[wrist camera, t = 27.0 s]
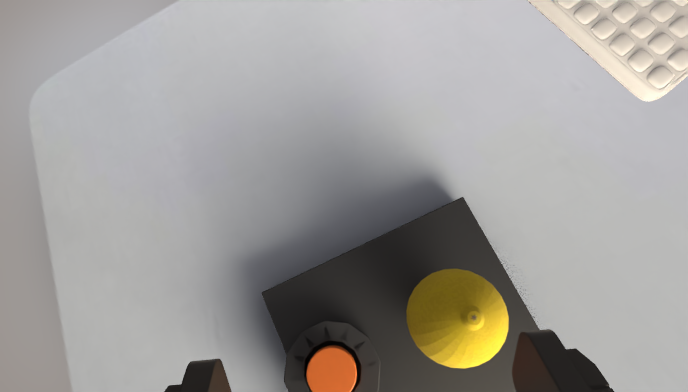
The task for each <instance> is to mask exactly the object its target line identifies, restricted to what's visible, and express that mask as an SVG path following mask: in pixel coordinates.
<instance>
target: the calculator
mask: <svg viewBox="0 0 688 392" xmlns="http://www.w3.org/2000/svg"><path fill="white" fill-rule="evenodd" d="M528 1H529V2H530V3H531V4H532V5H533V6H535V7H536V8H537V9H538V10H539V11H540V12H541V13H542V14H543V15H545V16H546V17H547V18H548V19H549V20H550V21H551V22H552V23H554V24H555V25H556V26H557V27H558V28H559V29H560V30H561V31H563V32H564V33H565V34H566V35H567V36H568V37H569V38H570V39H571V40H573V41H574V42H575V43H576V44H577V45H578V46H579V47H580V48H582V49H583V50H584V51H585V52H586V53H587V54H588V55H589V56H591V57H592V58H593V59H594V60H595V61H596V62H597V63H598V64H599V65H601V66H602V67H603V68H604V69H605V70H606V71H607V72H608V73H610V74H611V75H612V76H613V77H614V78H615V79H616V80H617V81H619V82H620V83H621V84H622V85H623V86H624V87H625V88H626V89H628V90H629V91H630V92H631V93H632V94H634V95H635V96H636V97H638V98H640V99H641V100H643V101H654V100H656V99H658V98H660V97H662V96H664V95H665V94H666V93H668V92H669V91H670V90H671V89H673V88H674V87H675V86H676V85H677V84H679V83H680V82H681V81H682V80H683V79H684V78H685V77H687V76H688V0H528Z"/></svg>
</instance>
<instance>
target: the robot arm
mask: <svg viewBox="0 0 688 392" xmlns="http://www.w3.org/2000/svg"><path fill="white" fill-rule="evenodd" d="M512 377H513V382H514V386H515V389H516V392H614V391H613V389H612V388H611V389H610V387H609V384H608V382H607V381H606V379H605V378H604V377H603V375H602V374H601V372H600V371H599V369H598V368H597V366H596V365H595V364H594V363H593V362H591V361H590V360H589V359H588V358H587V357H585V356H584V355H583V354H582V353H581V352H579V351H578V350H577V349H565V347H564V346H563V344H562V343H561V341H560V340H559V338H558V337H557V335H556V334H555V333H554V332H553V331H552V330H550V329H547V330H536V331H525V332H521V333H520V334H519V338H518V342H517V347H516V352H515V357H514V361H513V366H512ZM164 392H231V389H230V386H229V383H228V380H227V376H226V373H225V370H224V367H223V364H222V361H221V360H220V359H212V360H201V361H192V362H190V363H189V364H188V366H187V369H186V372H185V375H184V378H183V381H182V384H181V385H170V386H168V387H167V389H166V390H165V391H164Z"/></svg>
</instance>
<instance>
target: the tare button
mask: <svg viewBox="0 0 688 392" xmlns="http://www.w3.org/2000/svg"><path fill="white" fill-rule="evenodd" d="M306 376H307V382H308V385H309V387H310V389H311V391H312V392H351V391H352V389H353V387H354V385H355V383H356V378H357V370H356V364H355V361H354V358H353V357H352V355H351V354H350V353H349V352H348V351H347V350H346V349H344V348H343V347H340V346H336V345H329V346H325V347H323V348H321V349H319V350H318V351H317V352H316V353H315V354H314V355H313V357H312V358H311V360H310V361H309V364H308V367H307V373H306Z"/></svg>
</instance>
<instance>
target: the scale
mask: <svg viewBox="0 0 688 392" xmlns="http://www.w3.org/2000/svg"><path fill="white" fill-rule="evenodd" d="M444 269H461V270H467V271H471V272H473V273H475V274H477V275H479V276H482V277H483V278H484V279H486V280H487V281H488V282H490V283H491V284H492V285H493V286H494V287H495V289H496V290H497V291H498V292H499V294H500V295H501V296H502V299H503V301H504V303H505V305H506V308H507V313H508V317H509V321H508V332H507V336H506V339H505V342H504V343H503V345H502V347H501V348H500V350H499V351H498V352H497V353H496V354H495V355H494V356H493V357H492V358H491V359H490V360H488V361H486V362H484V363H482V364H480V365H479V366H475V367H469V368H450V367H447V366H445V365H442V364H439V363H436V362H435V361H433V360H432V359H430V358H429V357H427V356H426V355H425V354H424V353H423V352H422V351H421V350H420V349H419V348H418V347H417V346H416V344H415V342H414V340H413V338H412V337H411V335H410V332H409V328H408V325H407V312H406V310H407V306H408V301H409V298H410V296H411V294H412V292H413V290H414V288H415V287H416V286H417V285H418V284H419V283H420V281H421V280H423V279H424V278H426V277H427V276H429V275H430V274H432V273H434V272H437V271H440V270H444ZM262 296H263V298H264V301H265V303H266V305H267V308H268V310H269V313H270V315H271V318H272V320H273V323H274V325H275V328H276V330H277V333H278V335H279V337H280V340H281V342H282V345H283V347H284V350H285V352H286V355H287V358H286V367H285V376H284V382H285V384H286V387H287V389H288V392H312V391H311V389H310V387H309V385H308V382H307V376H306V373H307V367H308V364H309V361H310V360H311V358H312V357H313V355H314V354H315V353H316V352H317V351H318V350H319V349H321V348H323V347H325V346H329V345H336V346H340V347H343V348H344V349H346V350H347V351H348V352H349V353H350V354H351V355H352V357H353V358H354V361H355V364H356V370H357V378H356V383H355V385H354V387H353V389H352V391H351V392H516V389H515V386H514V382H513V377H512V366H513V361H514V357H515V352H516V347H517V342H518V338H519V334H520V333H521V332H525V331H536V330H539V328H538V327H537V325H536V323H535V321H534V320H533V318H532V316H531V314H530V313H529V311H528V309H527V308H526V306H525V304H524V302H523V301H522V299H521V297H520V295H519V294H518V292H517V290H516V288H515V287H514V285H513V283H512V281H511V280H510V278H509V276H508V274H507V273H506V271H505V269H504V267H503V266H502V264H501V262H500V261H499V259H498V257H497V255H496V254H495V252H494V250H493V248H492V247H491V245H490V243H489V241H488V240H487V238H486V236H485V234H484V233H483V231H482V229H481V227H480V226H479V224H478V222H477V221H476V219H475V217H474V215H473V214H472V212H471V210H470V208H469V207H468V205H467V203H466V201H465V200H464V198H463V197H462V198H460V199H457V200H455V201H453V202H451V203H449V204H447V205H445V206H443V207H441V208H439V209H436V210H434V211H432V212H430V213H428V214H426V215H424V216H422V217H420V218H418V219H415V220H413V221H411V222H409V223H407V224H405V225H403V226H401V227H399V228H397V229H394V230H392V231H390V232H388V233H386V234H384V235H382V236H380V237H378V238H376V239H373V240H371V241H369V242H367V243H365V244H363V245H361V246H359V247H357V248H355V249H352V250H350V251H348V252H346V253H344V254H342V255H340V256H338V257H336V258H334V259H331V260H329V261H327V262H325V263H323V264H321V265H319V266H317V267H315V268H313V269H310V270H308V271H306V272H304V273H302V274H300V275H298V276H296V277H294V278H292V279H289V280H287V281H285V282H283V283H281V284H279V285H277V286H275V287H273V288H271V289H268V290H266V291H264V292H262Z"/></svg>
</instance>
